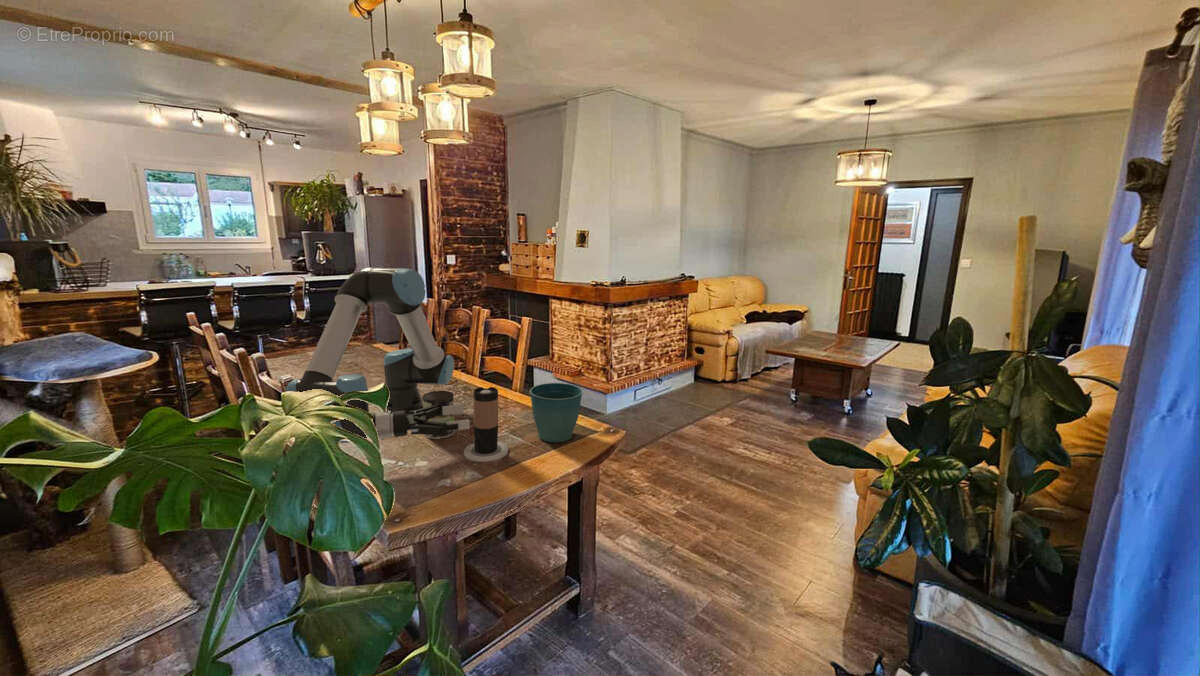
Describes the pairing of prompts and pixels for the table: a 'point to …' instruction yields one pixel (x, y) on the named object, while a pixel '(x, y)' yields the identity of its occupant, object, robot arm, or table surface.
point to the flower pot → (555, 410)
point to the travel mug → (485, 420)
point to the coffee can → (445, 400)
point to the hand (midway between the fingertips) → (466, 415)
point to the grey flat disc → (477, 457)
